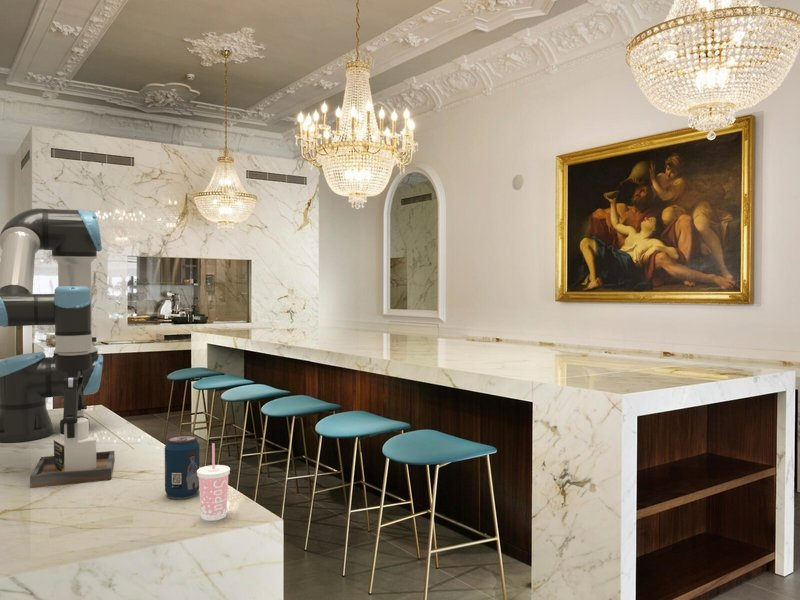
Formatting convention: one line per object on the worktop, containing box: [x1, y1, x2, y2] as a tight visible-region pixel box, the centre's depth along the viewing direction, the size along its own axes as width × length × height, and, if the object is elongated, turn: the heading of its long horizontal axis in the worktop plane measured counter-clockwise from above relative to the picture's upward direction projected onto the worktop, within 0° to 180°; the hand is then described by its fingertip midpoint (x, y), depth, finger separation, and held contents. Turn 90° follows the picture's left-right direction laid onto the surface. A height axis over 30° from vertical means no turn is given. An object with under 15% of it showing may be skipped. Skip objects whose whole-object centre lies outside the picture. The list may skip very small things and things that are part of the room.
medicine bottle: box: [53, 416, 97, 472], centre depth 150 cm, size 7×7×12 cm
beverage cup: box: [197, 442, 231, 521], centre depth 124 cm, size 6×6×14 cm
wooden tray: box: [29, 450, 116, 489], centre depth 150 cm, size 16×16×2 cm
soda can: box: [164, 434, 201, 500], centre depth 136 cm, size 7×7×12 cm
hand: (74, 444), depth 150 cm, fingers open, 13 cm apart
